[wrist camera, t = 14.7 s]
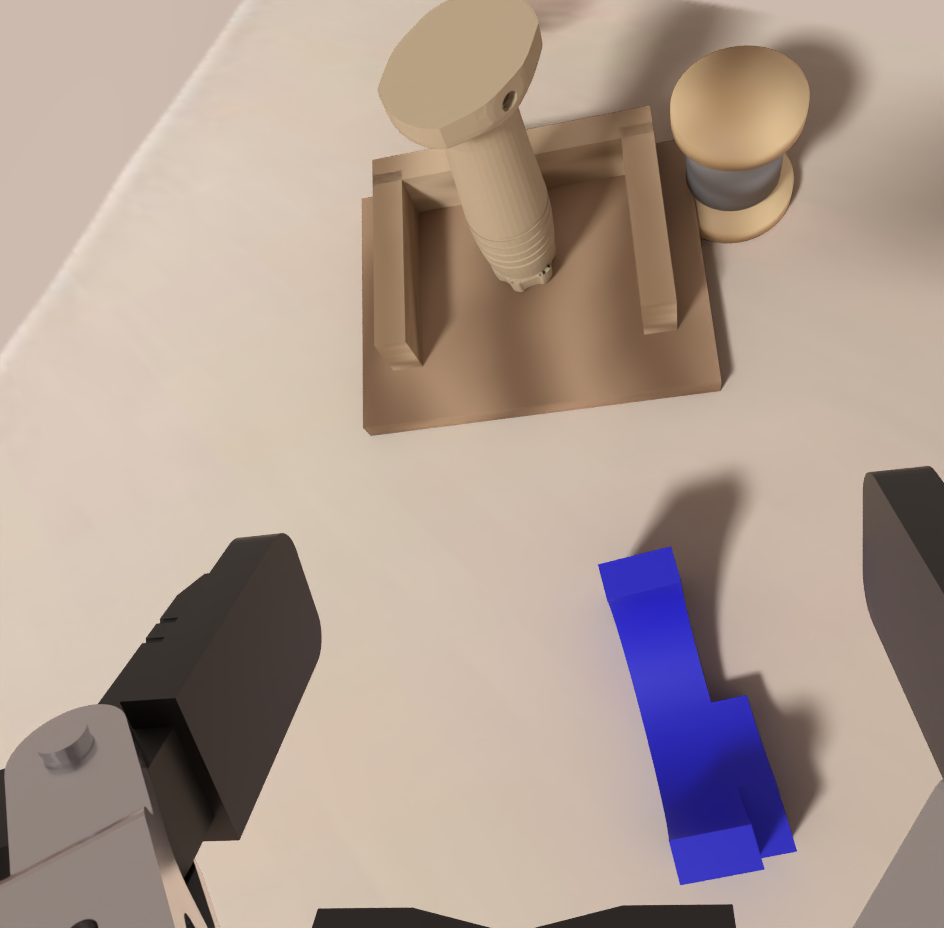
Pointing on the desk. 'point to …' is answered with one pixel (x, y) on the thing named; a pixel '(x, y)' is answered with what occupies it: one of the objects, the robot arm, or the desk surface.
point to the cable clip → (694, 731)
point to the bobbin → (739, 138)
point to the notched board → (536, 287)
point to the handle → (479, 124)
